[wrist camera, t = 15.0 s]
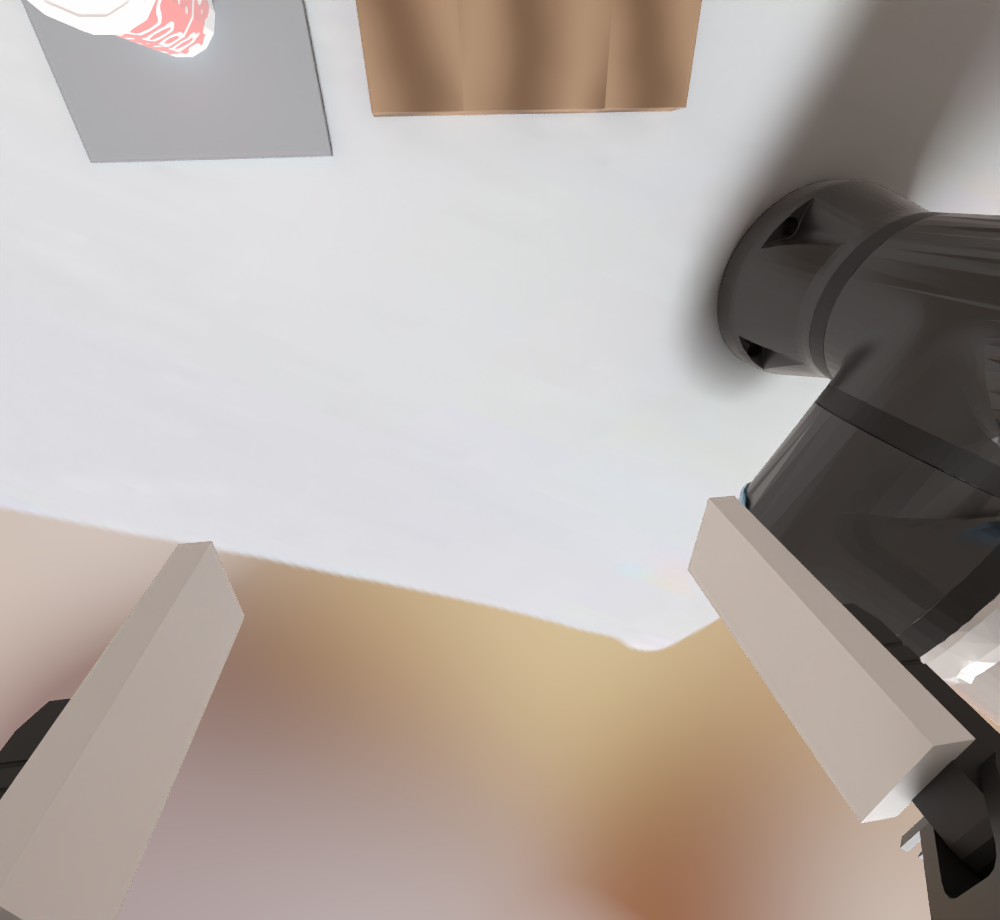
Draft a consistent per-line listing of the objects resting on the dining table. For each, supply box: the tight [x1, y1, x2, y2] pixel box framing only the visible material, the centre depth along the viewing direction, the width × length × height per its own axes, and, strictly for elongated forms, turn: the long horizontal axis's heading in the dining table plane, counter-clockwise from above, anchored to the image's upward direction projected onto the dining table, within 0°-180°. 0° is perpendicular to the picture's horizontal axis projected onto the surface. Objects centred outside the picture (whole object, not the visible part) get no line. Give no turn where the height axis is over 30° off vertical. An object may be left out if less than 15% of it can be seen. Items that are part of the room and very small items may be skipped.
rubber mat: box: [21, 0, 333, 163], centre depth 24 cm, size 14×14×1 cm
